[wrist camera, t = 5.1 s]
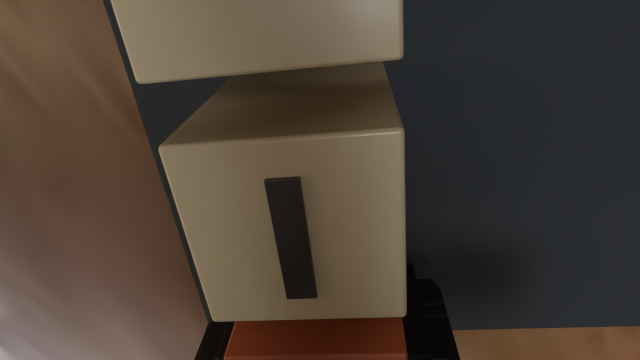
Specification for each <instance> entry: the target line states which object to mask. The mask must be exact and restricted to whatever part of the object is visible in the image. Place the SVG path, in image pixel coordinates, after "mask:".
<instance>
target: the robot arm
mask: <svg viewBox="0 0 640 360" xmlns="http://www.w3.org/2000/svg"><path fill="white" fill-rule="evenodd" d="M406 279H407V313H406V316H404V317H402V320H403V327H404V334H405V341H406V348H407V359H408V360H460V357H459V354H458V350H457V347H456V343H455V339H454V336H453V332H452V328H451V325H450V321H449V318H448V314H447V310H446V306H445V303H444V299H443V296H442V292H441V289H440V288H439V287H438V286H437V285H436V284H435V283H434V281H433V280H432V279H431V278H428V279H416V276H415V271H414V266H413V263H406ZM234 324H235V321H229V322H215V321H213V320H212V317H211V319H210V323H209V324H208V326H207V329H206V331H205V334H204V336H203V339H202V341H201V344H200V347H199V349H198V352H197V354H196V357H195V359H194V360H224V355H225V352H226V349H227V345H228V342H229V339H230V336H231V333H232V330H233V327H234Z"/></svg>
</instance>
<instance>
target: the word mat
mask: <svg viewBox="0 0 640 360" xmlns="http://www.w3.org/2000/svg"><path fill="white" fill-rule="evenodd" d="M103 2H104V5H105V8H106V11H107V14H108V17H109V20H110V23H111V26H112V29H113V32H114V35H115V38H116V41H117V44H118V47H119V51H120V54H121V57H122V60H123V63H124V66H125V69H126V72H127V75H128V78H129V81H130V84H131V87H132V90H133V93H134V97H135V100H136V103H137V106H138V109H139V112H140V115H141V118H142V121H143V124H144V127H145V130H146V133H147V136H148V139H149V143H150V146H151V149H152V152H153V155H154V158H155V161H156V164H157V167H158V170H159V173H160V176H161V179H162V182H163V185H164V189H165V192H166V195H167V198H168V201H169V204H170V207H171V210H172V213H173V216H174V219H175V222H176V225H177V228H178V231H179V234H180V238H181V241H182V244H183V247H184V250H185V253H186V256H187V259H188V262H189V265H190V268H191V271H192V274H193V277H194V280H195V284H196V287H197V290H198V293H199V296H200V299H201V302H202V305H203V308H204V311H205V314H206V317H207V320H208V323H210V319H211V314H210V311H209V307H208V304H207V301H206V298H205V295H204V292H203V289H202V285H201V282H200V279H199V276H198V273H197V270H196V267H195V263H194V260H193V257H192V254H191V251H190V248H189V245H188V241H187V238H186V235H185V232H184V229H183V226H182V223H181V219H180V216H179V213H178V210H177V207H176V204H175V201H174V197H173V194H172V191H171V188H170V185H169V182H168V179H167V175H166V172H165V169H164V166H163V163H162V160H161V157H160V153H159V146H160V145H161V144H162V143H163V142H164V141H165V140H166V139H167V138H168V137H169V136H170V135H171V134H173V133H174V132H175V131H176V130H177V129H178V128H179V127H180V126H181V125H182V124H183V123H184V122H185V121H186V120H187V119H188V118H189V117H190V116H191V115H192V114H194V113H195V112H196V111H197V110H198V109H199V108H200V107H201V106H202V105H203V104H204V103H205V102H206V101H207V100H208V99H209V98H210V97H211V96H212V95H213V94H215V93H216V92H217V91H218V90H219V89H220V88H221V87H222V86H223V85H224V84H225V83H226V82H227V81H228V80H229V79H230V78H231V77H232V76H225V77H214V78H204V79H193V80H182V81H172V82H161V83H151V84H139V83H137V81H136V79H135V76H134V73H133V70H132V67H131V63H130V60H129V57H128V54H127V51H126V48H125V45H124V41H123V38H122V35H121V32H120V29H119V26H118V23H117V19H116V16H115V13H114V10H113V7H112V4H111V1H110V0H103ZM403 24H404V55H403V57H402V58H401V59H400V60H394V61H383V64H384V67H385V71H386V74H387V77H388V80H389V83H390V86H391V90H392V93H393V96H394V99H395V102H396V105H397V108H398V112H399V115H400V118H401V121H402V124H403V127H404V131H405V197H406V263H413V266H414V271H415V276H416V279H428V278H431V279H432V280H433V281H434V283H435V284H436V285H437V286H438V287H439V288H440V289H441V292H442V296H443V299H444V303H445V306H446V310H447V314H448V318H449V321H450V325H451V328H452V330H475V329H520V328H566V327H612V326H640V0H403Z"/></svg>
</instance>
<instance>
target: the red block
mask: <svg viewBox="0 0 640 360" xmlns="http://www.w3.org/2000/svg"><path fill="white" fill-rule="evenodd" d="M224 360H408V359H407V348H406V341H405V334H404V327H403V320H402V317H385V318H346V319H307V320H268V321H235V324H234V327H233V330H232V333H231V336H230V339H229V342H228V345H227V349H226V352H225V355H224Z"/></svg>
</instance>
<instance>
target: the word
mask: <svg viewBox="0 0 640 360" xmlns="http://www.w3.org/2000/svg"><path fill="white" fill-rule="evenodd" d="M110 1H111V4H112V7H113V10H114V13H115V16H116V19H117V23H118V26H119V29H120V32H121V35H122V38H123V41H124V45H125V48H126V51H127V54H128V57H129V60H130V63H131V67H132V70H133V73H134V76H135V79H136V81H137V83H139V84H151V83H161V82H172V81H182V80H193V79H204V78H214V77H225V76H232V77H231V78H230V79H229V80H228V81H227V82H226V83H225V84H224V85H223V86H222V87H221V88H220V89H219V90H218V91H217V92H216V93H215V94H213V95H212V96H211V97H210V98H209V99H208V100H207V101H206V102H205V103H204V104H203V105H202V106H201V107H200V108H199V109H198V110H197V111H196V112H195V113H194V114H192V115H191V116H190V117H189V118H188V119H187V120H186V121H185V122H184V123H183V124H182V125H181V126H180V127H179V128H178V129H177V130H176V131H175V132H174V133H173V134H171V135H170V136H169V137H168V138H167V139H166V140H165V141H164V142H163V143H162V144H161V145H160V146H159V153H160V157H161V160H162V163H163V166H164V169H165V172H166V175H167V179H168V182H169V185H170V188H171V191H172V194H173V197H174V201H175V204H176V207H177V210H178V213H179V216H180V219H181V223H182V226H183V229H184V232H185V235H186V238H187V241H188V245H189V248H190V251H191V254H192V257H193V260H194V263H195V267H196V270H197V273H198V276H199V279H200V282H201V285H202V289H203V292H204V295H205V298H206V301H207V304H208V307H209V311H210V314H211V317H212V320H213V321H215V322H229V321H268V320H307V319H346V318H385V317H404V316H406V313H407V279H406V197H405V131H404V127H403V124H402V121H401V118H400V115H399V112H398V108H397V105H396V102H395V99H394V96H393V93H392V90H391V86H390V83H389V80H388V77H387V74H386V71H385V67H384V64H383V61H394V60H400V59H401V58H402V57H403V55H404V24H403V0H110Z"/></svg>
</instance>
